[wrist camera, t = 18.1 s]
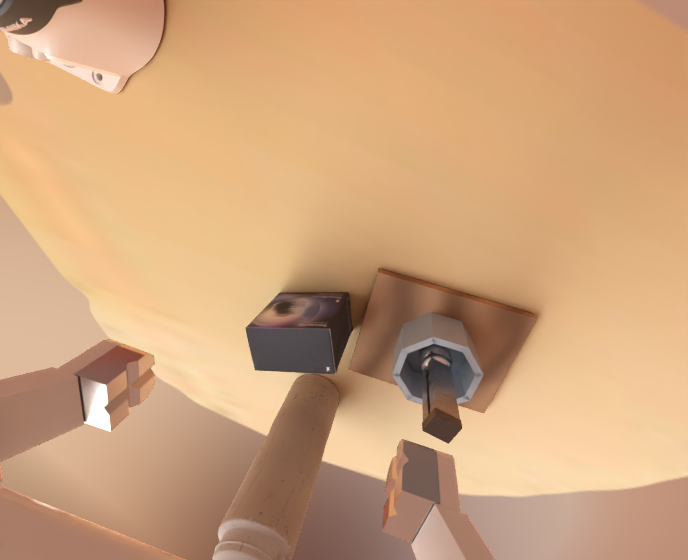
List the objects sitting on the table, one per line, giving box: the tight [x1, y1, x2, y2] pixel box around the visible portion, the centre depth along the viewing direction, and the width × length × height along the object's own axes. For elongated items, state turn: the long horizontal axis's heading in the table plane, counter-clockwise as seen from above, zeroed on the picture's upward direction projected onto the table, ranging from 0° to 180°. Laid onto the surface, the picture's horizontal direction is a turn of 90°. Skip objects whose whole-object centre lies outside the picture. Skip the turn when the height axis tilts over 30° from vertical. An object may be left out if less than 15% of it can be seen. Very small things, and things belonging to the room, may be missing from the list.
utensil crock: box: [392, 312, 484, 405], centre depth 41 cm, size 10×10×6 cm
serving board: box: [349, 268, 536, 413], centre depth 45 cm, size 20×16×2 cm
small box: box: [246, 293, 353, 374], centre depth 43 cm, size 11×6×10 cm, turn 96°
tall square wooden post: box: [419, 344, 462, 444], centre depth 37 cm, size 4×4×13 cm
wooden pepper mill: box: [212, 374, 339, 560], centre depth 40 cm, size 8×8×28 cm
